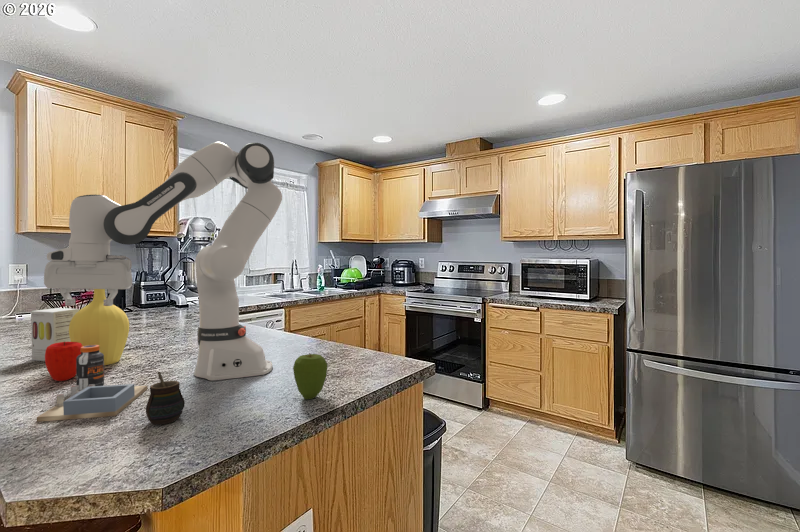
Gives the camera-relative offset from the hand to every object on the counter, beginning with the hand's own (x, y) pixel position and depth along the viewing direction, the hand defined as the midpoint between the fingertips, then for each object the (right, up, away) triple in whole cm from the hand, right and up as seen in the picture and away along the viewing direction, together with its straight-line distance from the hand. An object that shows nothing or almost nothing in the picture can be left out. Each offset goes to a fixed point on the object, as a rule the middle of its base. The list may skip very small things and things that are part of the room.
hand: (89, 305), depth 108 cm
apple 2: (+62, -23, -8) cm, 66 cm away
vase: (-15, -22, +25) cm, 36 cm away
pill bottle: (0, -22, 0) cm, 22 cm away
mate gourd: (+33, -23, -21) cm, 46 cm away
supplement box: (-35, -21, +31) cm, 51 cm away
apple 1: (-12, -22, +7) cm, 26 cm away
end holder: (+15, -23, -15) cm, 31 cm away
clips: (+6, -21, -12) cm, 26 cm away
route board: (+11, -23, -12) cm, 28 cm away
